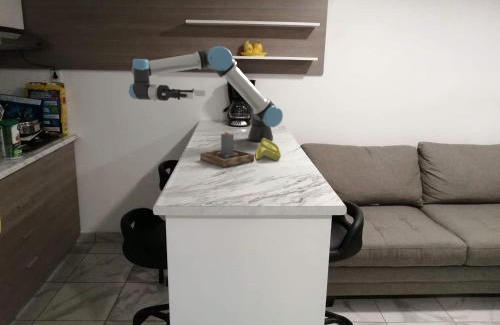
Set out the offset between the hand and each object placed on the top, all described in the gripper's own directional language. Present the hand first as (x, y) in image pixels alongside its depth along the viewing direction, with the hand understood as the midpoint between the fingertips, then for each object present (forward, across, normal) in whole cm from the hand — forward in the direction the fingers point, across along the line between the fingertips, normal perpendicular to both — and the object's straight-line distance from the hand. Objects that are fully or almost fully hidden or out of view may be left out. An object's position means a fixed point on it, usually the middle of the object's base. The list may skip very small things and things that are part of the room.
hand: (200, 94), depth 184 cm
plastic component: (+31, -12, -30) cm, 45 cm away
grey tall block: (+15, +4, -29) cm, 33 cm away
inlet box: (+15, +4, -30) cm, 34 cm away
